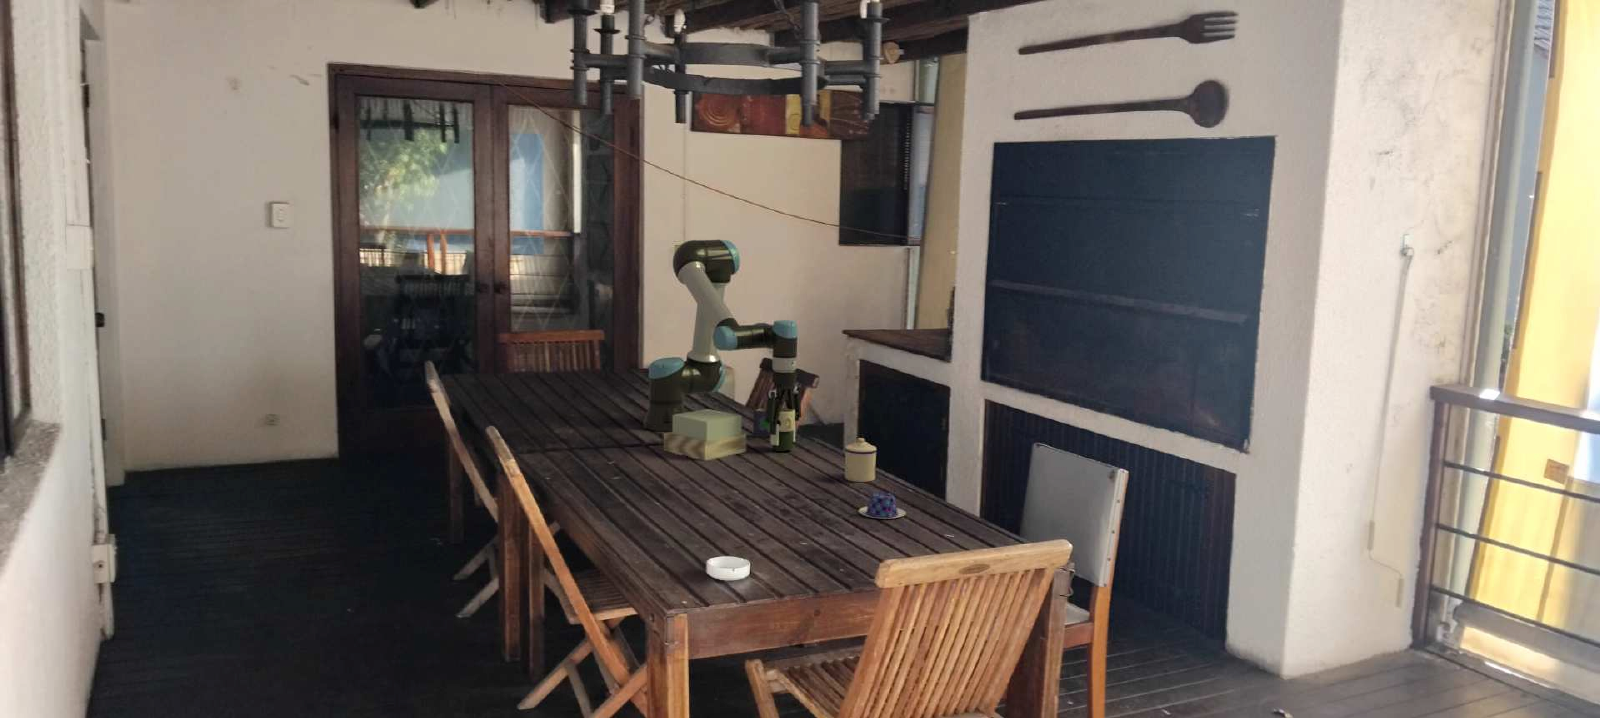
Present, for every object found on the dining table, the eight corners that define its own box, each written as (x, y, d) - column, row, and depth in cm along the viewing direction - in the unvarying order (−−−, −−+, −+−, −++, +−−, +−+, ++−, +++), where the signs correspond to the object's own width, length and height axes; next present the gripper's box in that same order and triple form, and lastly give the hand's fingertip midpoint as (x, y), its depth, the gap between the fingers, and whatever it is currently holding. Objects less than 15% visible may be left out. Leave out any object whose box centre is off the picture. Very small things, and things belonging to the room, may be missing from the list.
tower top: (672, 433, 367) (672, 414, 366) (707, 427, 378) (707, 409, 377) (706, 441, 357) (706, 421, 357) (741, 434, 369) (741, 415, 368)
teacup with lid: (881, 480, 337) (883, 440, 335) (854, 483, 332) (855, 443, 331) (860, 471, 347) (861, 432, 345) (833, 474, 343) (834, 434, 341)
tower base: (663, 452, 368) (663, 433, 367) (704, 444, 381) (705, 425, 381) (704, 462, 356) (705, 442, 356) (745, 453, 370) (746, 434, 369)
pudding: (867, 522, 295) (868, 501, 294) (852, 509, 306) (852, 490, 305) (912, 519, 298) (913, 499, 297) (895, 507, 310) (896, 487, 309)
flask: (781, 436, 394) (782, 404, 393) (780, 438, 391) (781, 406, 390) (753, 435, 394) (754, 403, 393) (752, 437, 392) (753, 405, 390)
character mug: (764, 448, 375) (765, 407, 374) (785, 446, 379) (786, 406, 377) (780, 455, 366) (781, 413, 364) (800, 453, 369) (801, 412, 367)
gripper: (771, 375, 359) (770, 449, 362) (814, 368, 374) (812, 439, 377) (753, 372, 363) (752, 445, 367) (796, 366, 379) (794, 436, 382)
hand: (782, 442), depth 372 cm, fingers open, 7 cm apart
